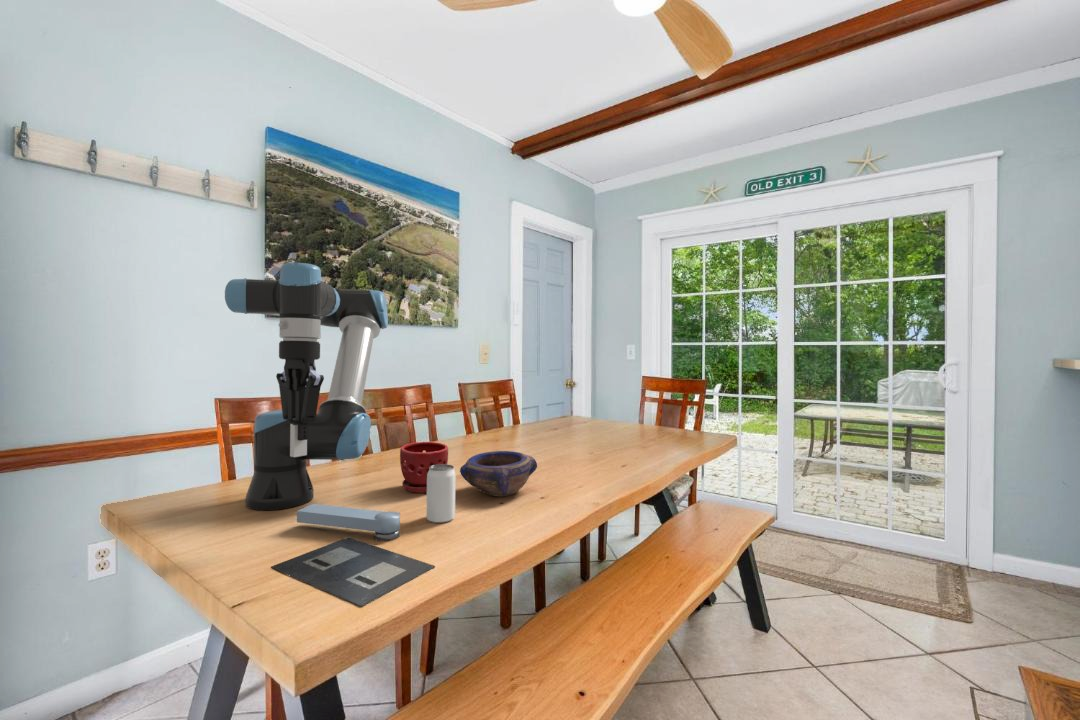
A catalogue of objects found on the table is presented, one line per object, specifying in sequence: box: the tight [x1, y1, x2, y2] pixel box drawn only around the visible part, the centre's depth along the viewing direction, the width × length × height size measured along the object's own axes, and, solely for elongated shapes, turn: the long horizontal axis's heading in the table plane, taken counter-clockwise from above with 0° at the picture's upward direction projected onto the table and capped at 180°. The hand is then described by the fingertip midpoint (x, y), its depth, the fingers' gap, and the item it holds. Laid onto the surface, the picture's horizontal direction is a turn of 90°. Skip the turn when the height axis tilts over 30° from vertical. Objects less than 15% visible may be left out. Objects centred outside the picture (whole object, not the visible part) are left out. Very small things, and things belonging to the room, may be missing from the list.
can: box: [426, 463, 456, 524], centre depth 111 cm, size 6×6×12 cm
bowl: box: [459, 450, 538, 497], centre depth 132 cm, size 18×18×10 cm
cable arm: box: [296, 503, 401, 533], centre depth 102 cm, size 5×22×3 cm, turn 77°
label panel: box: [270, 536, 436, 608], centre depth 86 cm, size 24×16×1 cm, turn 59°
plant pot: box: [399, 441, 449, 494], centre depth 134 cm, size 13×13×12 cm
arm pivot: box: [374, 528, 401, 542], centre depth 100 cm, size 5×5×1 cm
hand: (298, 455), depth 98 cm, fingers closed
